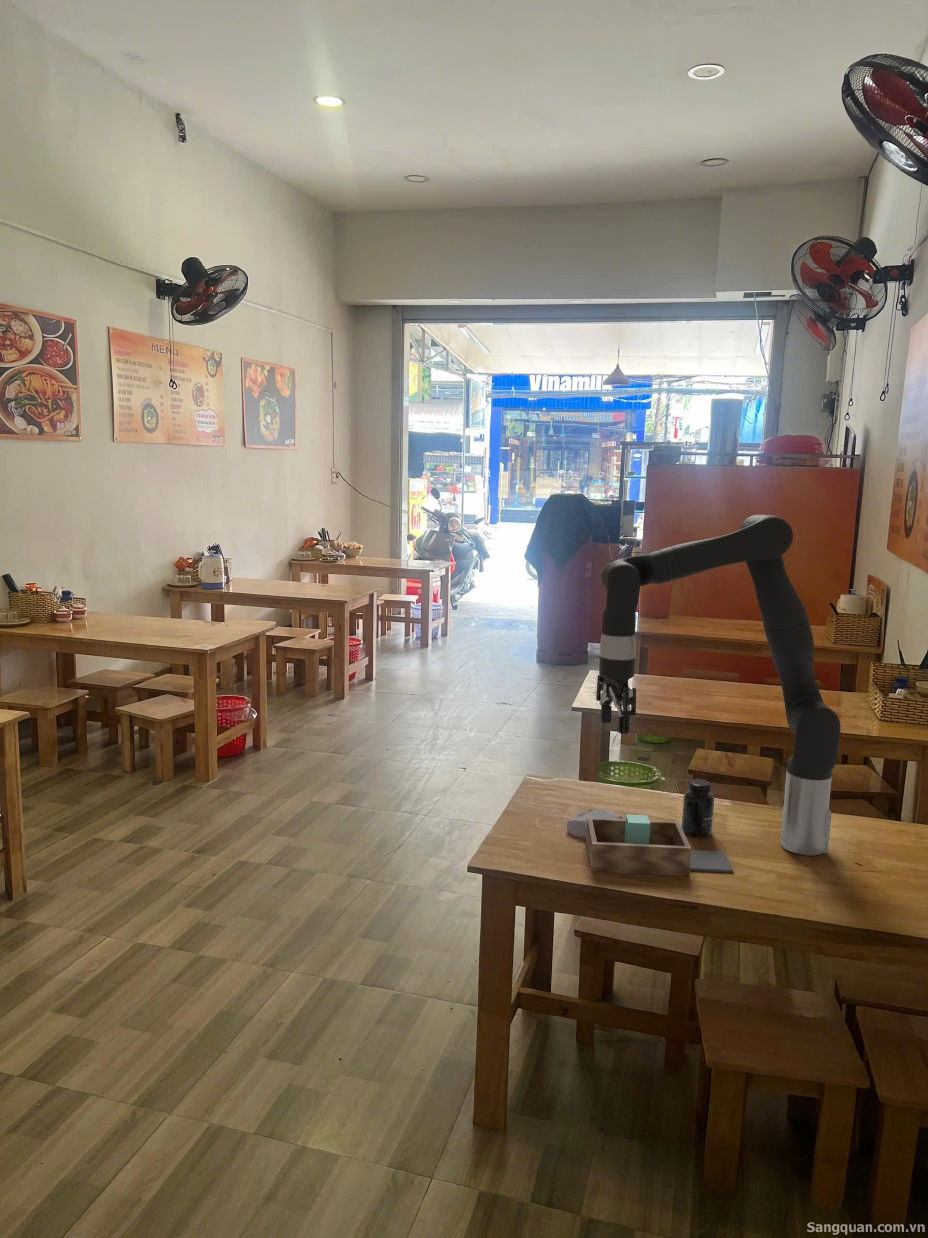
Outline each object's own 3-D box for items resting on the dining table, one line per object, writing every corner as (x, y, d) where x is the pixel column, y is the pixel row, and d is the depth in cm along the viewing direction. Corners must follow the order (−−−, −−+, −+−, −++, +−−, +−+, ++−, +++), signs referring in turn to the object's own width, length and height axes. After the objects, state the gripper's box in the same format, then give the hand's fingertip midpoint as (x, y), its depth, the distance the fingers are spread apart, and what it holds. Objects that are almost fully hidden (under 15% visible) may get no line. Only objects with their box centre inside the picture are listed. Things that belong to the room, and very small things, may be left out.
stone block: (563, 841, 200) (602, 844, 194) (561, 820, 200) (599, 822, 194) (589, 826, 209) (626, 829, 203) (586, 807, 209) (624, 809, 203)
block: (645, 846, 188) (647, 815, 187) (648, 855, 184) (650, 823, 183) (624, 845, 189) (625, 814, 187) (626, 854, 184) (628, 822, 183)
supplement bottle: (711, 840, 197) (714, 789, 195) (680, 835, 199) (683, 785, 197) (712, 828, 204) (716, 779, 202) (682, 824, 206) (685, 775, 204)
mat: (723, 854, 190) (723, 851, 190) (733, 873, 181) (733, 870, 181) (681, 852, 190) (681, 849, 190) (689, 870, 181) (689, 868, 181)
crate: (677, 847, 193) (678, 821, 192) (689, 876, 179) (691, 848, 178) (586, 843, 194) (587, 817, 193) (591, 871, 180) (592, 844, 179)
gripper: (649, 660, 181) (645, 736, 184) (618, 647, 195) (615, 717, 197) (616, 662, 179) (613, 738, 182) (587, 648, 193) (584, 720, 195)
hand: (614, 727), depth 190 cm, fingers open, 8 cm apart
